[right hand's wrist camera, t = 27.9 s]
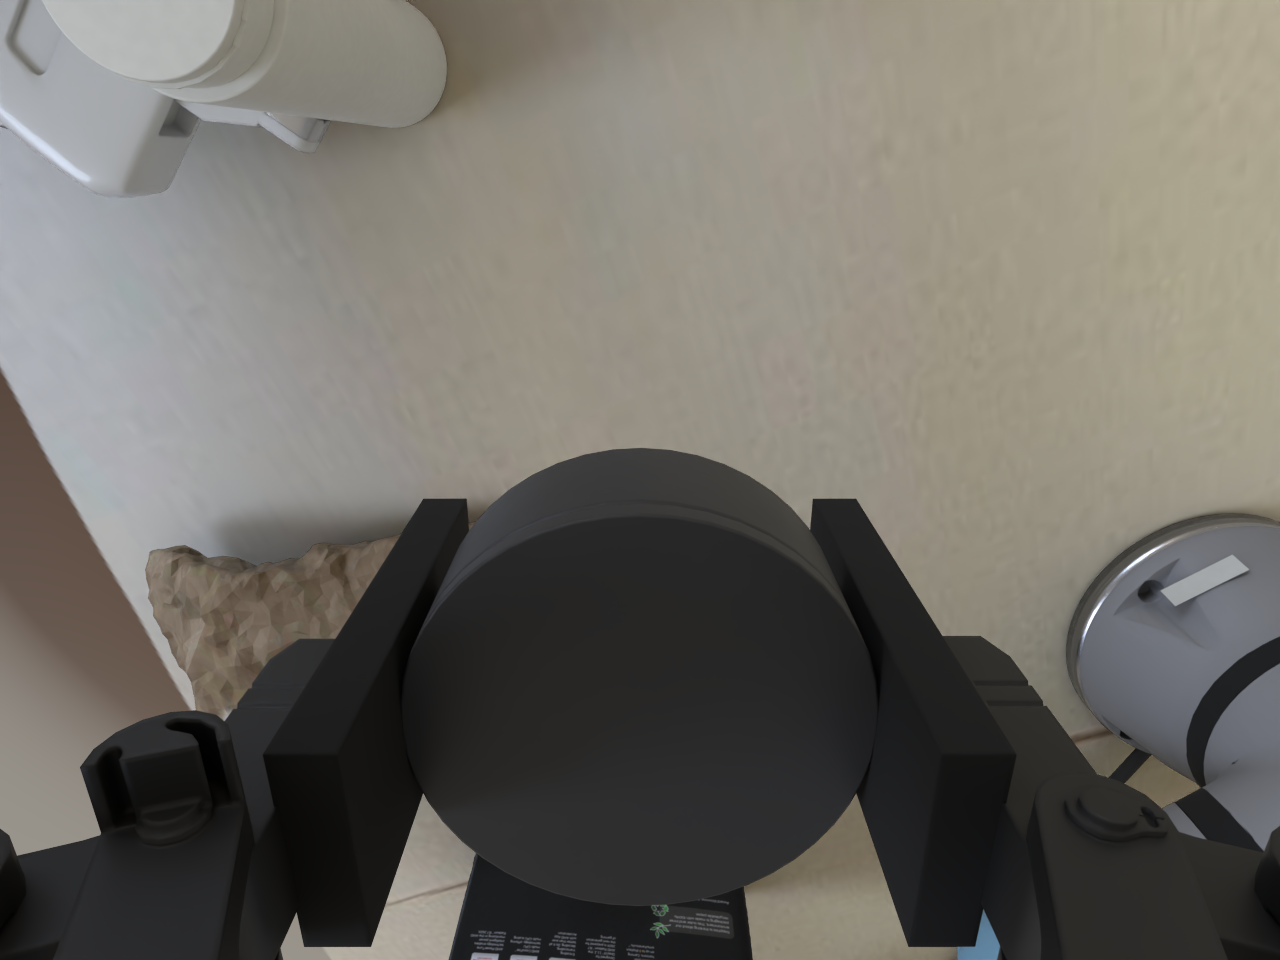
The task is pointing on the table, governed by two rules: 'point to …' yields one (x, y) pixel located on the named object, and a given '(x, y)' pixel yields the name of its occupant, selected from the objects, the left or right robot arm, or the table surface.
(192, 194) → the table surface
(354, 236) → the table surface
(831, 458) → the table surface
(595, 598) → the lid
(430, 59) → the white bottle
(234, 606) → the stone
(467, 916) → the graphics card box
